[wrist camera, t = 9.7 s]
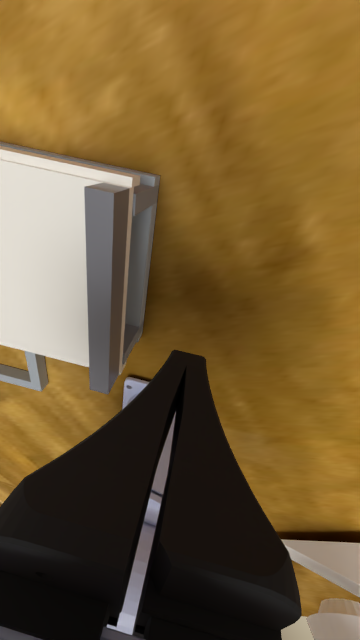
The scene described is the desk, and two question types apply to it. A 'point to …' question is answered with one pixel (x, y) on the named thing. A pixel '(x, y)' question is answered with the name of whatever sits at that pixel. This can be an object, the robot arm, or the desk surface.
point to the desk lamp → (340, 568)
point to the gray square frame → (137, 271)
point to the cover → (65, 260)
